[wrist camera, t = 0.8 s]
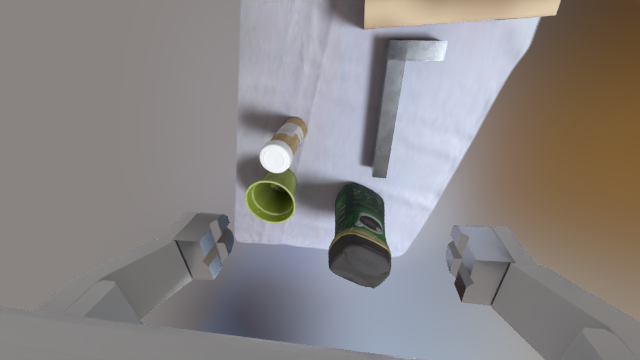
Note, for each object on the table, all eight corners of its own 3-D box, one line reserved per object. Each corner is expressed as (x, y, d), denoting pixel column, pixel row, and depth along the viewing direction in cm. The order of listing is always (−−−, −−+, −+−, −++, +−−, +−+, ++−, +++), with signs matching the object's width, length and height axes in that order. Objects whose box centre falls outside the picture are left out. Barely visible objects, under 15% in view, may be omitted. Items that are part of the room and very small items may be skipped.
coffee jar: (330, 204, 54) (317, 275, 38) (349, 176, 50) (343, 244, 34) (369, 223, 55) (372, 300, 39) (390, 198, 51) (403, 272, 35)
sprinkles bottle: (305, 142, 47) (288, 177, 36) (282, 137, 48) (257, 170, 36) (309, 119, 45) (291, 149, 34) (285, 113, 45) (259, 141, 34)
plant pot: (307, 163, 50) (297, 186, 42) (302, 201, 55) (293, 227, 47) (261, 155, 50) (244, 176, 43) (261, 193, 55) (245, 218, 48)
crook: (387, 39, 37) (390, 40, 34) (439, 40, 36) (447, 41, 33) (371, 166, 48) (372, 177, 45) (411, 169, 47) (415, 180, 44)
